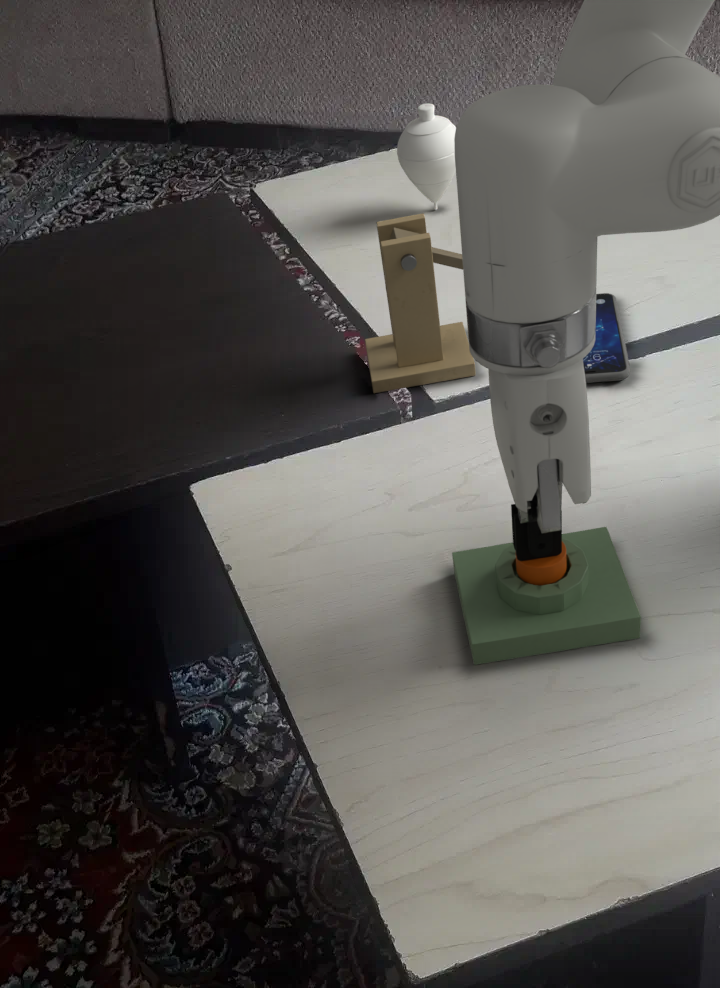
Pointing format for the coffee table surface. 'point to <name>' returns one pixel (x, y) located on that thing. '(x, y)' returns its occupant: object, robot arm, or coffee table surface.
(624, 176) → the robot arm
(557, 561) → the button
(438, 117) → the spinning top
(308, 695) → the coffee table surface
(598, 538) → the control block
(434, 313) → the lever bracket
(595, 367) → the smartphone
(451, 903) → the coffee table surface
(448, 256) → the press lever
